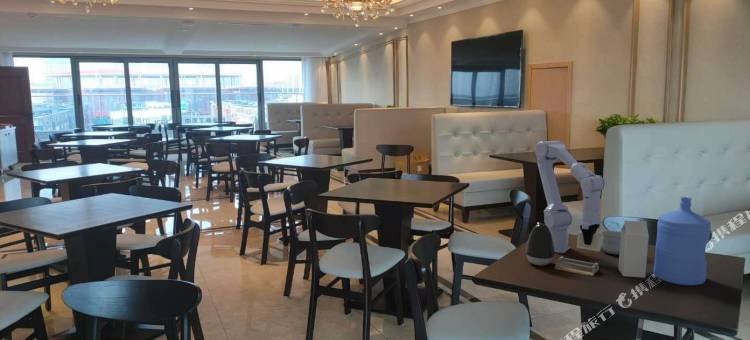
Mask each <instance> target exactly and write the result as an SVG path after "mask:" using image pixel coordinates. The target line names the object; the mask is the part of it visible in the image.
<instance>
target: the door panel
mask: <svg viewBox="0 0 750 340" xmlns="http://www.w3.org/2000/svg"><path fill="white" fill-rule="evenodd" d="M601 237H602V235H601V233H596V234H595V233H594V235H593V238H592V243H591V245H585V244H584V239H583V234H582V231H581V230H578V231H577V237H576V239H577V240H576V248H577V249H581V250H587V251H594V252H598V253H599V252H600V251H601V250H602V248H601Z"/></svg>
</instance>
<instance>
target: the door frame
mask: <svg viewBox="0 0 750 340" xmlns="http://www.w3.org/2000/svg"><path fill="white" fill-rule="evenodd" d="M599 269H600V267H599V262H588V261H583V260H577V259H571V258H566V257H564V256H560V257H558V258H557V259H556V265H554V270H559V271H564V272H569V273H572V274H573V273H575V274H578V273H579V274H580V275H583V276H585V275H586V276H589V275H590V277H593V276H595V274H596V273H597V272H598V271H599ZM579 274H578V275H579Z"/></svg>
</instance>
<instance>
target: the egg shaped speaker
mask: <svg viewBox="0 0 750 340" xmlns="http://www.w3.org/2000/svg"><path fill="white" fill-rule="evenodd" d="M555 253H556V252H555V250H554V243H553V238H552V235H551V232H550V230H549V228H548V226H546V225H545V223H540V222H537V223H536V224H535V225H534V227H533V228H532V230H531V232H530V234H529V237H528V239H527V243H526V247H525V254H526V257H527V260H528V262H529V263H531V264H533V265H535V266H538V267H539V266H541V267H543V266H544V267H545V266H547V265H549V264H551V263H552V262H553V259H554V257H555V255H556V254H555Z"/></svg>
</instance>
